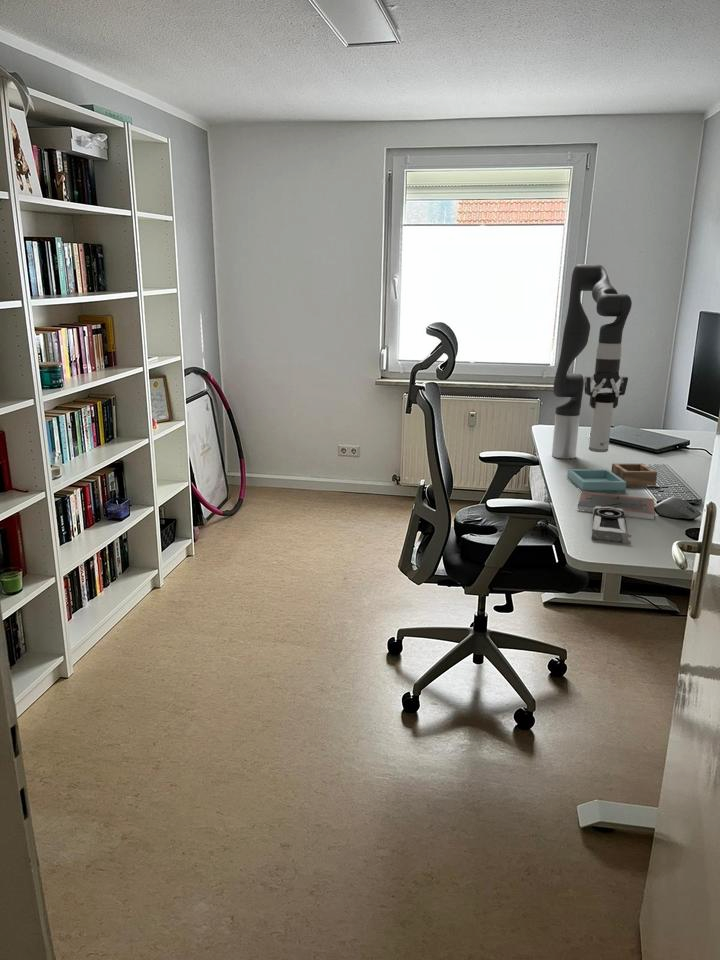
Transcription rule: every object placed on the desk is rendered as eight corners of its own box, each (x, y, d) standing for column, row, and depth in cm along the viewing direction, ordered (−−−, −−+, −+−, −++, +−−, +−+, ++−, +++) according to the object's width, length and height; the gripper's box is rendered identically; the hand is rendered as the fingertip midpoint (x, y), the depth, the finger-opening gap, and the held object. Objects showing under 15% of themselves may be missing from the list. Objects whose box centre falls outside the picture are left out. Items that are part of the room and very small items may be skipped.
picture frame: (576, 512, 208) (653, 521, 200) (577, 504, 207) (654, 513, 200) (581, 497, 223) (652, 505, 215) (582, 490, 222) (653, 498, 214)
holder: (610, 476, 245) (612, 463, 244) (640, 476, 245) (642, 463, 244) (623, 486, 234) (625, 472, 232) (655, 486, 234) (657, 472, 233)
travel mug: (605, 453, 227) (612, 393, 221) (585, 450, 231) (592, 391, 225) (611, 450, 232) (618, 391, 226) (592, 447, 236) (598, 389, 230)
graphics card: (592, 530, 183) (593, 503, 205) (591, 542, 184) (592, 514, 206) (632, 534, 180) (628, 506, 202) (630, 546, 180) (627, 517, 203)
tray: (567, 479, 242) (567, 469, 241) (607, 479, 242) (608, 469, 242) (582, 492, 226) (583, 482, 225) (625, 492, 227) (626, 482, 226)
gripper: (625, 356, 226) (620, 406, 231) (582, 355, 226) (578, 405, 231) (634, 358, 219) (628, 409, 224) (590, 358, 219) (585, 409, 224)
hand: (603, 407), depth 227 cm, fingers closed on travel mug, 6 cm apart
